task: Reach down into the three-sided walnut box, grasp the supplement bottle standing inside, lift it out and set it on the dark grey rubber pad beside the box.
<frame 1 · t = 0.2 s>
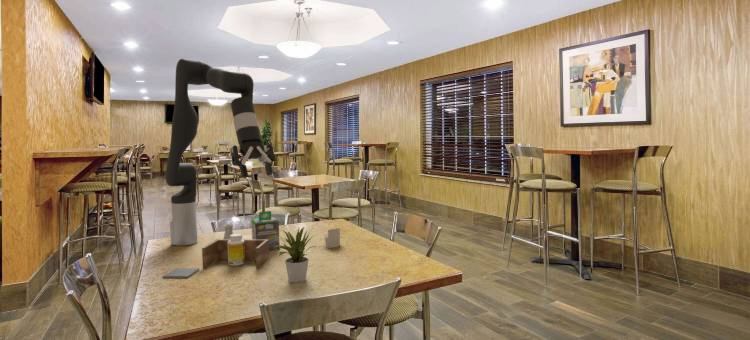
hand: (257, 176, 140), 31 cm above the table, tool tilted 20°, fingers open, 8 cm apart
supplement bottle: (236, 264, 149), on the table
architectural model: (332, 247, 172), on the table
house plant: (296, 279, 133), on the table
grey pad: (181, 273, 139), on the table
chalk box: (265, 248, 170), on the table
flask: (229, 251, 167), on the table
walnut box: (236, 263, 149), on the table
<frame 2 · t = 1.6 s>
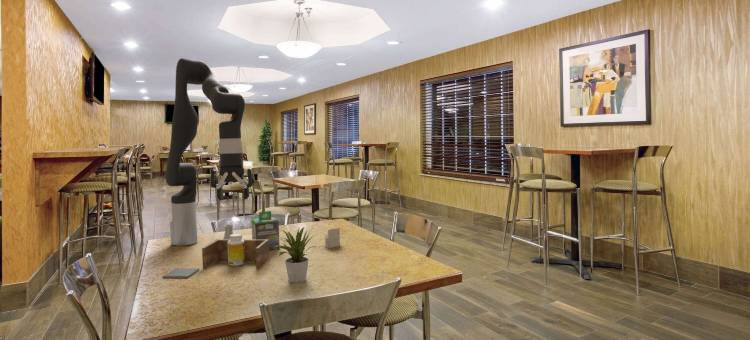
hand: (233, 199, 148), 22 cm above the table, tool pointing down, fingers open, 8 cm apart
nothing on the table moved.
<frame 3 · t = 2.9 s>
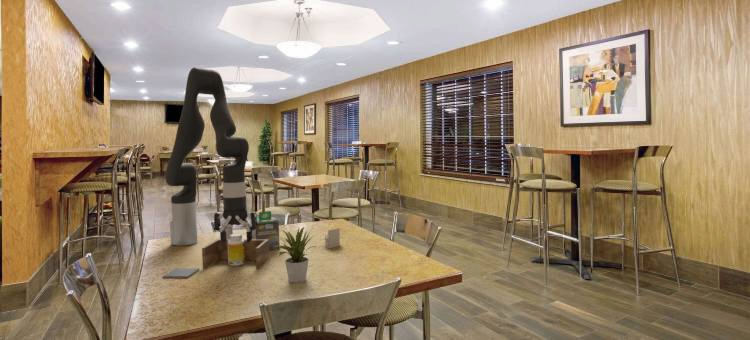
hand: (236, 242, 149), 8 cm above the table, tool pointing down, fingers open, 8 cm apart
nothing on the table moved.
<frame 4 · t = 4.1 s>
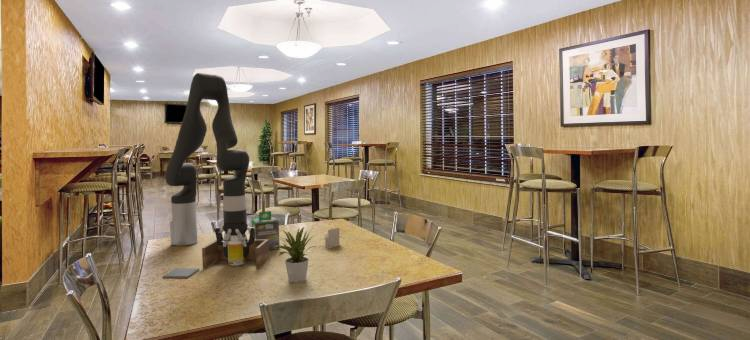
hand: (236, 256, 149), 3 cm above the table, tool pointing down, fingers closed on supplement bottle, 5 cm apart
supplement bottle: (236, 264, 149), on the table, touching gripper
everything else where it was.
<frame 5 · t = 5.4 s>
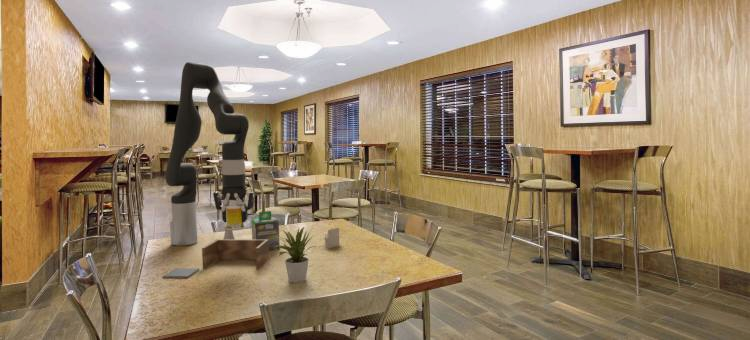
hand: (234, 221, 148), 15 cm above the table, tool pointing down, fingers closed on supplement bottle, 5 cm apart
supplement bottle: (235, 229, 148), point 12 cm above the table, touching gripper
everything else where it was.
when the fingers open (4 cm above the table, at t = 9.7 s): supplement bottle drops 1 cm, resting on grey pad.
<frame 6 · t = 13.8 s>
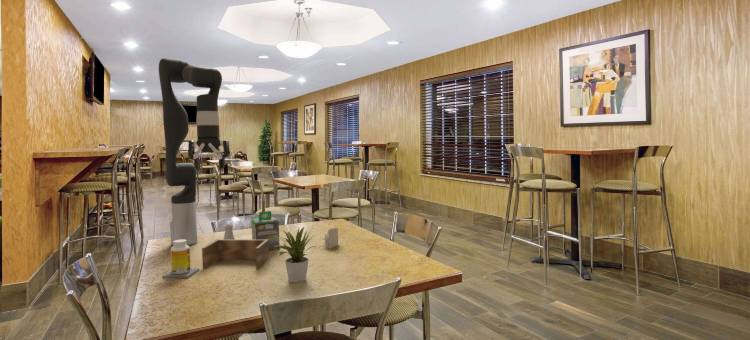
hand: (209, 169, 156), 32 cm above the table, tool pointing down, fingers open, 8 cm apart
supplement bottle: (181, 272, 139), resting on grey pad
at the end: supplement bottle 0.1 cm from the grey pad (horizontally); supplement bottle tilted 0°; the gripper is holding nothing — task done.
